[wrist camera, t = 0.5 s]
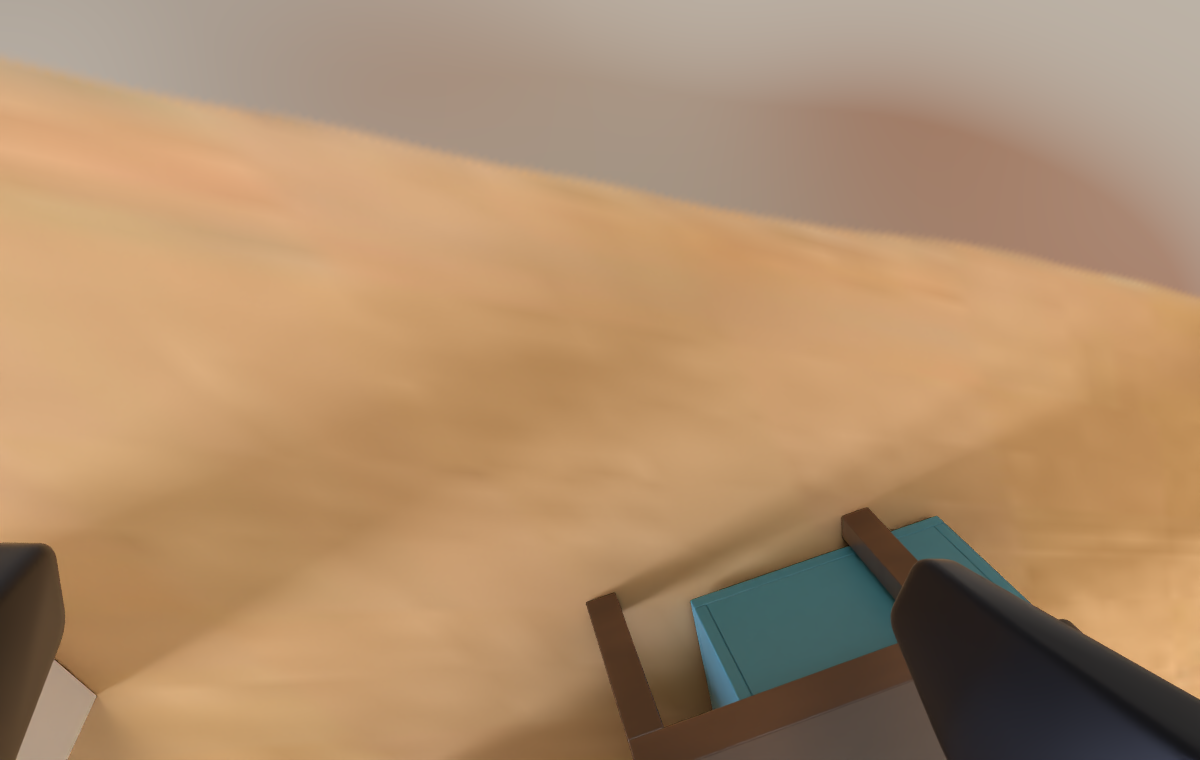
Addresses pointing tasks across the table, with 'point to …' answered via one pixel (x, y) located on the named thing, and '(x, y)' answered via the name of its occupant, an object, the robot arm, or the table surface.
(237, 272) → the table surface
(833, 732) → the brown drawer cabinet
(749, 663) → the drawer
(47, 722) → the white cube
